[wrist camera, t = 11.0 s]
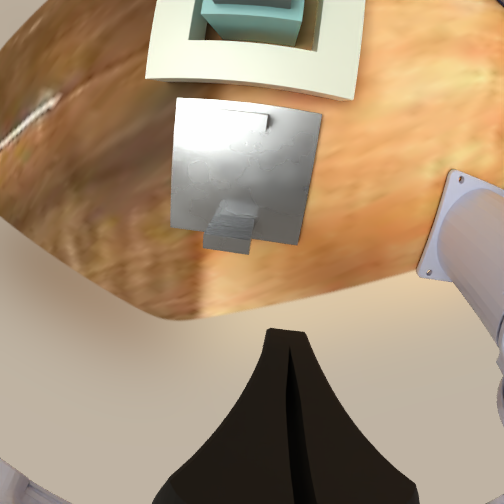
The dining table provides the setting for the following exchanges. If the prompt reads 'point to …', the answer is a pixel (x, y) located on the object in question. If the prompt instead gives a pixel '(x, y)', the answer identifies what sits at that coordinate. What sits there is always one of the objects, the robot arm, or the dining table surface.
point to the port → (259, 52)
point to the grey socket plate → (241, 171)
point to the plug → (255, 19)
